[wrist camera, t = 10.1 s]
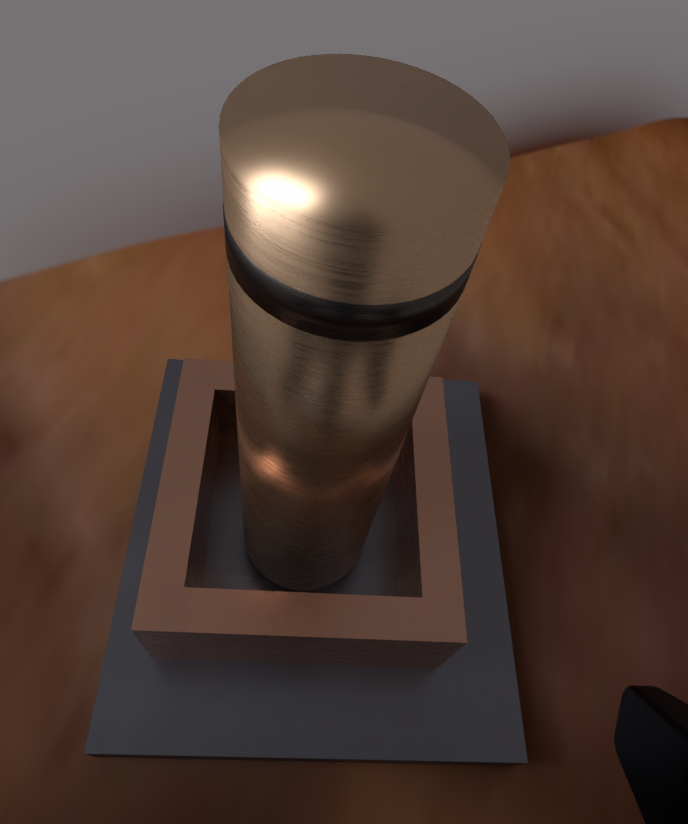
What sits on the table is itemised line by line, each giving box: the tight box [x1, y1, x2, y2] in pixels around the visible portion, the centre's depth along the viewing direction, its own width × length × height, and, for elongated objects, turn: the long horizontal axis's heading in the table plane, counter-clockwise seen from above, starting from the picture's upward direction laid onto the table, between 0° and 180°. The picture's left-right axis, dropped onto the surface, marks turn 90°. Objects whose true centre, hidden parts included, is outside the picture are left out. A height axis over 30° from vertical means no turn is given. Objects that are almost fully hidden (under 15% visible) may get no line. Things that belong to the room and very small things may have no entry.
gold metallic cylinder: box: [219, 54, 510, 590], centre depth 13 cm, size 4×4×13 cm
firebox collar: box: [84, 358, 528, 766], centre depth 18 cm, size 12×11×4 cm
